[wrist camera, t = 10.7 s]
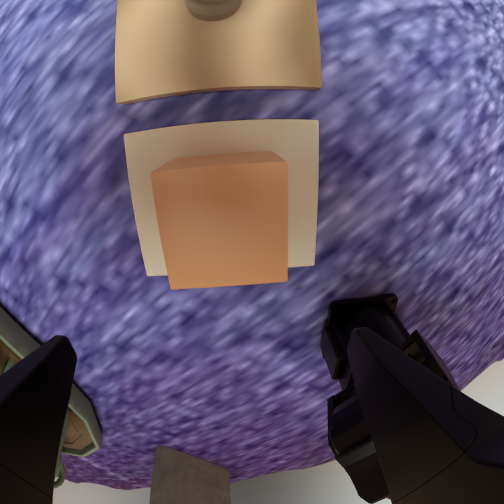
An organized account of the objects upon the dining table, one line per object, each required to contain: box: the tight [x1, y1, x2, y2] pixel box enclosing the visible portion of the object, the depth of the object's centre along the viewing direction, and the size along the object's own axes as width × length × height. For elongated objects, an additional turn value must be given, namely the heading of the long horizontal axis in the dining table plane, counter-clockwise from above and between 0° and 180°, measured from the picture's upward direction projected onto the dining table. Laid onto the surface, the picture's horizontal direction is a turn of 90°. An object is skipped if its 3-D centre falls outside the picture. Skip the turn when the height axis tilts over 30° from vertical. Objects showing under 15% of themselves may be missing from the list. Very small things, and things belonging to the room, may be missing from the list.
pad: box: [124, 119, 319, 276], centre depth 18 cm, size 12×10×1 cm
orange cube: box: [150, 151, 288, 290], centre depth 15 cm, size 6×6×5 cm
